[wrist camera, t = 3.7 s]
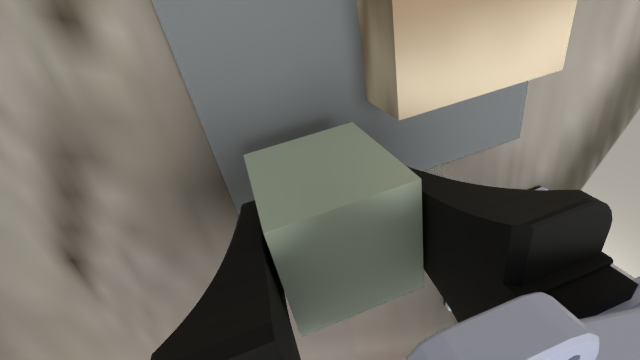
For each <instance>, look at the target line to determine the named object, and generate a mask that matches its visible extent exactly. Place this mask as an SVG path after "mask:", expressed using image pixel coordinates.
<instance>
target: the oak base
mask: <svg viewBox="0 0 640 360" xmlns="http://www.w3.org/2000/svg"><path fill="white" fill-rule="evenodd" d="M356 1H357V11H358V20H359V29H360V38H361V48H362V57H363V66H364V76H365V85H366V94H367V101H368V102H370V103H372V104H373V105H375V106H376V107H378V108H380V109H381V110H383V111H384V112H386V113H388V114H389V115H391V116H392V117H394V118H396V119H397V120H402V119H406V118H409V117H412V116H415V115H418V114H422V113H425V112H428V111H431V110H435V109H438V108H441V107H444V106H448V105H451V104H454V103H457V102H460V101H464V100H467V99H470V98H473V97H477V96H480V95H483V94H486V93H489V92H493V91H496V90H499V89H502V88H506V87H509V86H512V85H515V84H518V83H522V82H525V81H528V80H531V79H535V78H538V77H541V76H544V75H547V74H551V73H554V72H557V71H560V70H563V65H564V60H565V56H566V51H567V46H568V41H569V37H570V32H571V27H572V22H573V18H574V13H575V8H576V3H577V0H356Z"/></svg>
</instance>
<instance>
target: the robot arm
mask: <svg viewBox="0 0 640 360" xmlns="http://www.w3.org/2000/svg"><path fill="white" fill-rule="evenodd" d="M407 167H408V166H407ZM408 168H409V169H410V170H411V171H413V172H414V173H415V174H416V175H417V176H419V177H420V178H421V182H422V226H423V268H424V270H425V271H426V273H427V274H428V276H429V277H430V279H431V280H432V281H433V283H434V284H435V286H436V287H437V289H438V291H439V292H440V294H441V295H442V297H443V298H444V300H445V301H446V303H445V307H446V308H447V310H448V311H452V313H453V314H454V316H455V317H456V319H457V321H458V322H459V323H457V324H455V325H453V326H450V327H448V328H446V329H443V330H441V331H439V332H437V333H435V334H434V335H432V336H430V337H429V338H427V339H425V340H424V341H422V342H420V343H419V344H418V345H417V346H416V348H415V349H414V350H413V351H412V352H411V353H410V354H409V355H408V356H407V358H406V360H640V277H637V278H634V277H632V276H631V275H629V274H628V273H626V272H625V271H623V270H622V269H620V268H618V267H617V266H615V265H614V264H612V263H613V259H612V258H611V257H609V256H608V255H606V254H604V253H603V252H601V251H602V248H603V246H604V243H605V240H606V238H607V235H608V232H609V230H610V227H611V223H612V212H611V209H610V207H609V206H608V205H607V204H606V203H604V202H601V201H600V200H598V199H596V198H594V197H592V196H590V195H588V194H587V193H584V192H583V191H581V190H548V189H546V188H544V187H540V188H538V189H535V190H521V189H507V188H498V187H489V186H482V185H476V184H470V183H465V182H460V181H455V180H451V179H447V178H444V177H440V176H436V175H433V174H429V173H426V172H423V171H420V170H417V169H414V168H411V167H408ZM151 360H301V359H300V355H299V352H298V348H297V345H296V341H295V337H294V334H293V330H292V327H291V323H290V319H289V315H288V310H287V305H286V299H285V293H284V288H283V286H282V283H281V280H280V277H279V275H278V272H277V269H276V267H275V264H274V261H273V258H272V256H271V253H270V250H269V247H268V245H267V242H266V239H265V237H264V234H263V230H262V226H261V222H260V218H259V214H258V210H257V206H256V202H255V200H253V201H250V202H247V203H244V204H242V206H241V208H240V214H239V218H238V222H237V225H236V229H235V232H234V235H233V238H232V240H231V243H230V245H229V248H228V250H227V253H226V255H225V257H224V260H223V262H222V264H221V266H220V268H219V270H218V271H217V273H216V275H215V277H214V279H213V280H212V282H211V283H210V285H209V287H208V288H207V290H206V291H205V293H204V294H203V296H202V297H201V299H200V300H199V302H198V303H197V304H196V306H195V307H194V308H193V310H192V311H191V312H190V313H189V315H188V316H187V317H186V318H185V319H184V321H183V322H182V323H181V324H180V325H179V326H178V328H177V329H176V330H175V331H174V332H173V333H172V334H171V335H170V336H169V337H168V338H167V339H166V341H165V342H164V343H163V344H162V345H161V346H160V347H159V348H158V349H157V350H156V351H155V352H154V353H153V354H152V356H151Z"/></svg>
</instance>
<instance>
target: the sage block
mask: <svg viewBox="0 0 640 360" xmlns="http://www.w3.org/2000/svg"><path fill="white" fill-rule="evenodd" d="M244 159H245V163H246V167H247V171H248V175H249V179H250V183H251V187H252V191H253V195H254V199H255V202H256V206H257V210H258V214H259V218H260V222H261V226H262V230H263V234H264V237H265V239H266V242H267V245H268V247H269V250H270V253H271V256H272V258H273V261H274V264H275V267H276V269H277V272H278V275H279V277H280V280H281V283H282V286H283V288H284V291H285V294H286V297H287V299H288V302H289V305H290V307H291V310H292V313H293V316H294V318H295V321H296V324H297V326H298V329H299V332H300V335H301V337H302V336H305V335H307V334H310V333H312V332H314V331H317V330H319V329H322V328H324V327H327V326H329V325H332V324H334V323H336V322H339V321H341V320H344V319H346V318H349V317H351V316H354V315H356V314H358V313H361V312H363V311H366V310H368V309H371V308H373V307H376V306H378V305H380V304H383V303H385V302H388V301H390V300H393V299H395V298H398V297H400V296H402V295H405V294H407V293H410V292H412V291H415V290H417V289H420V288H422V287H424V269H423V226H422V182H421V178H420V177H419V176H417V175H416V174H415V173H414V172H413V171H411V170H410V169H409V168H408V167H407V166H405V165H404V164H403V163H402V162H400V161H399V160H398V159H397V158H396V157H394V156H393V155H392V154H391V153H389V152H388V151H387V150H386V149H385V148H383V147H382V146H381V145H380V144H379V143H377V142H376V141H375V140H374V139H372V138H371V137H370V136H369V135H368V134H366V133H365V132H364V131H363V130H361V129H360V128H359V127H358V126H357V125H355V124H354V123H353V122H350V123H347V124H344V125H340V126H337V127H334V128H331V129H327V130H324V131H321V132H317V133H314V134H311V135H307V136H304V137H301V138H298V139H294V140H291V141H288V142H284V143H281V144H278V145H274V146H271V147H268V148H265V149H261V150H258V151H255V152H251V153H248V154H245V155H244Z"/></svg>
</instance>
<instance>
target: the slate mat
mask: <svg viewBox="0 0 640 360" xmlns="http://www.w3.org/2000/svg"><path fill="white" fill-rule="evenodd" d="M151 1H152V3H153V6H154V8H155V11H156V13H157V16H158V18H159V21H160V23H161V26H162V28H163V31H164V33H165V36H166V38H167V41H168V43H169V45H170V48H171V50H172V53H173V55H174V58H175V60H176V63H177V65H178V68H179V70H180V73H181V75H182V78H183V80H184V83H185V85H186V88H187V90H188V92H189V95H190V97H191V100H192V102H193V105H194V107H195V110H196V112H197V115H198V117H199V120H200V122H201V125H202V127H203V130H204V132H205V134H206V137H207V139H208V142H209V144H210V147H211V149H212V152H213V154H214V157H215V159H216V162H217V164H218V167H219V169H220V172H221V174H222V176H223V179H224V181H225V184H226V186H227V189H228V191H229V194H230V196H231V199H232V201H233V204H234V206H235V209H236V211H237V214H238V216H239V214H240V208H241V206H242V204H244V203H247V202H250V201H253V200H255V199H254V195H253V191H252V187H251V183H250V179H249V175H248V171H247V167H246V163H245V159H244V155H245V154H248V153H251V152H255V151H258V150H261V149H265V148H268V147H271V146H274V145H278V144H281V143H284V142H288V141H291V140H294V139H298V138H301V137H304V136H307V135H311V134H314V133H317V132H321V131H324V130H327V129H331V128H334V127H337V126H340V125H344V124H347V123H350V122H353V123H354V124H355V125H357V126H358V127H359V128H360V129H361V130H363V131H364V132H365V133H366V134H368V135H369V136H370V137H371V138H372V139H374V140H375V141H376V142H377V143H379V144H380V145H381V146H382V147H383V148H385V149H386V150H387V151H388V152H389V153H391V154H392V155H393V156H394V157H396V158H397V159H398V160H399V161H400V162H402V163H403V164H404V165H405V166H408V167H411V168H414V169H417V170H420V171H425V170H428V169H430V168H433V167H436V166H439V165H442V164H445V163H448V162H451V161H454V160H457V159H460V158H463V157H465V156H468V155H471V154H474V153H477V152H480V151H483V150H486V149H489V148H492V147H495V146H497V145H500V144H503V143H506V142H509V141H512V140H515V139H518V138H519V137H520V131H521V125H522V118H523V112H524V106H525V100H526V93H527V87H528V81H529V80H528V81H525V82H522V83H518V84H515V85H512V86H509V87H506V88H502V89H499V90H496V91H493V92H489V93H486V94H483V95H480V96H477V97H473V98H470V99H467V100H464V101H460V102H457V103H454V104H451V105H448V106H444V107H441V108H438V109H435V110H431V111H428V112H425V113H422V114H418V115H415V116H412V117H409V118H406V119H402V120H397V119H396V118H394V117H392V116H391V115H389V114H388V113H386V112H384V111H383V110H381V109H380V108H378V107H376V106H375V105H373V104H372V103H370V102H368V101H367V94H366V85H365V76H364V66H363V57H362V48H361V38H360V29H359V20H358V11H357V1H356V0H151Z"/></svg>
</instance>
